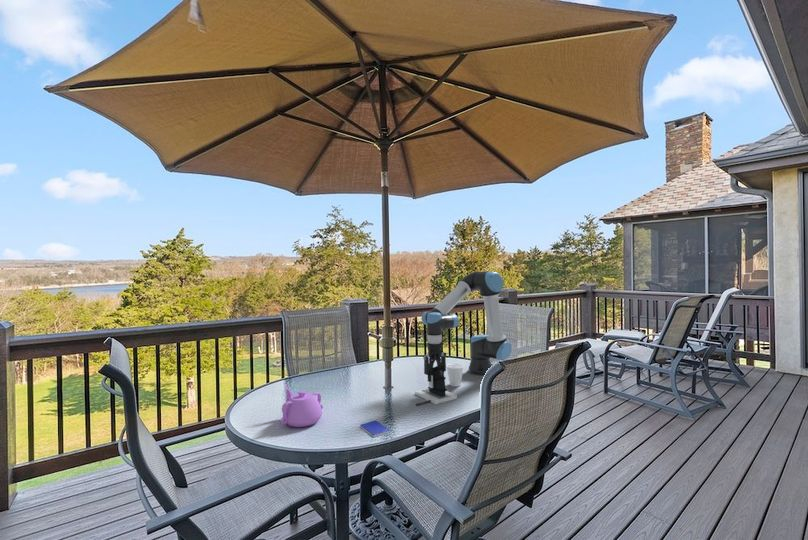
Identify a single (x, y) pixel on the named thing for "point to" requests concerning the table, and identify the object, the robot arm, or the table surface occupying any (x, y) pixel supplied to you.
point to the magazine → (438, 381)
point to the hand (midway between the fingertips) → (435, 386)
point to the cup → (455, 374)
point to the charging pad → (434, 396)
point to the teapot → (301, 409)
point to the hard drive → (375, 428)
